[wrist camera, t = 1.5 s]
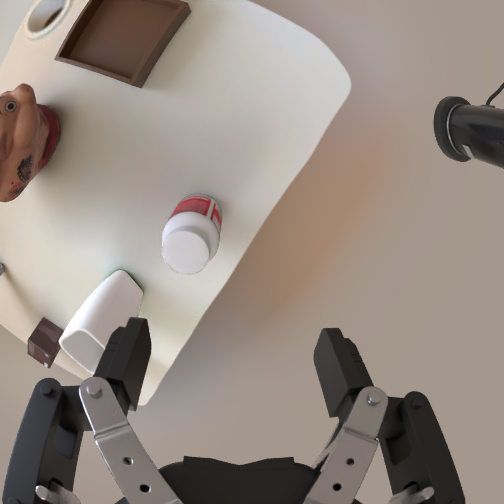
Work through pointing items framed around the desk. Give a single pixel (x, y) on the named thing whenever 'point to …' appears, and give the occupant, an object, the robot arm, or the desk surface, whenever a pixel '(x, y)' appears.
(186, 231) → the pill bottle
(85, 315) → the cup
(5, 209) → the desk surface
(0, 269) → the lightbulb
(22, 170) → the pink face mug
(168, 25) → the tray
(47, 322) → the box
